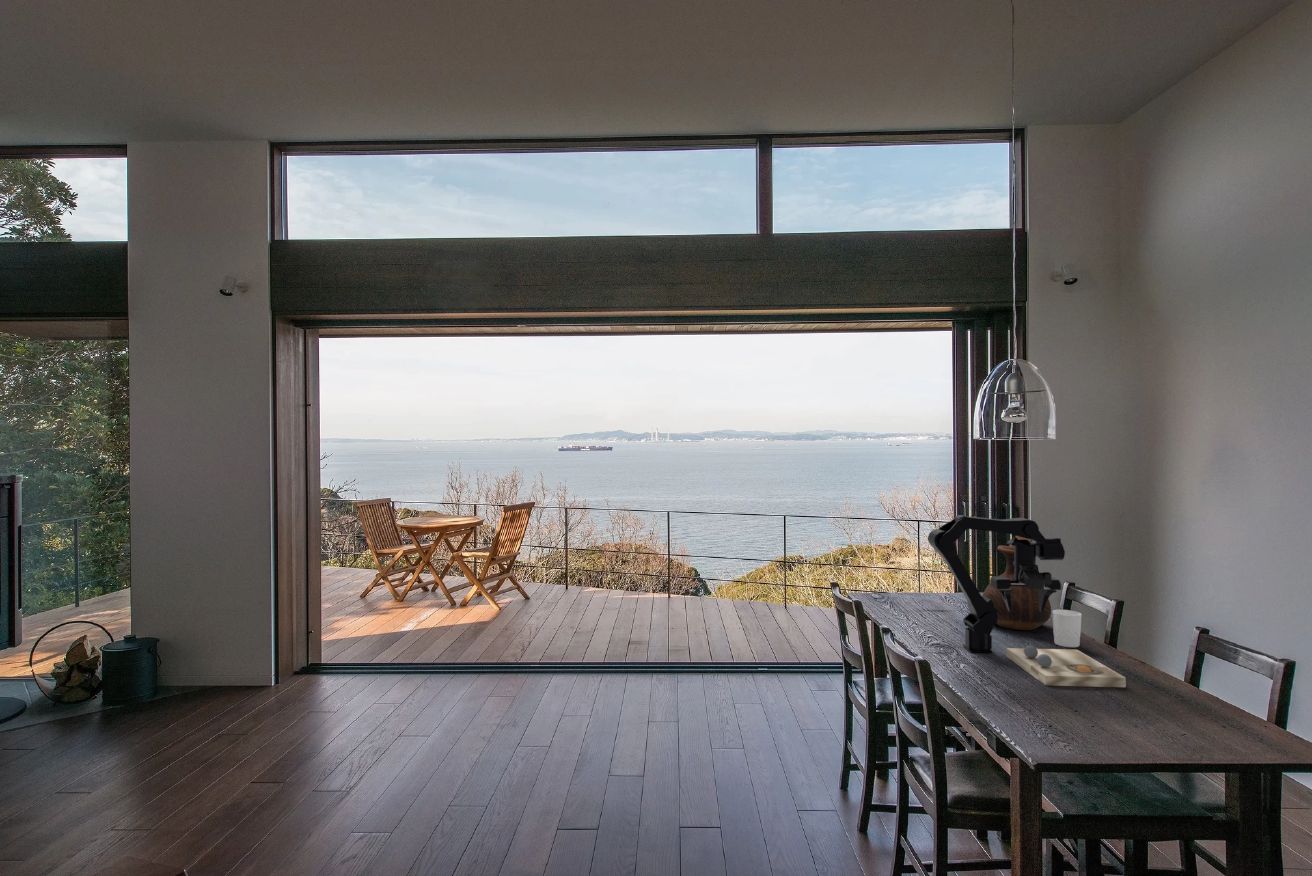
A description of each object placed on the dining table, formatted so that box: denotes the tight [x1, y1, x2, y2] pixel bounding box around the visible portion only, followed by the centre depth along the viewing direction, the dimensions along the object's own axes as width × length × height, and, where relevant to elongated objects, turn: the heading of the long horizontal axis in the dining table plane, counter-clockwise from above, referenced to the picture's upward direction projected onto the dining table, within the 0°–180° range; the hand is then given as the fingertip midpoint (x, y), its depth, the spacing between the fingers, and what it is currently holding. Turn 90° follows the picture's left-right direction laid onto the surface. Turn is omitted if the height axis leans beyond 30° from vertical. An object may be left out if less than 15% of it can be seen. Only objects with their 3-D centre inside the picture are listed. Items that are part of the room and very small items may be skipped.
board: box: [1005, 647, 1127, 688], centre depth 193 cm, size 20×24×2 cm
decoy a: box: [1024, 644, 1038, 658], centre depth 196 cm, size 4×4×4 cm
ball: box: [1077, 665, 1091, 672], centre depth 187 cm, size 4×4×4 cm
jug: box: [981, 536, 1052, 631], centre depth 240 cm, size 22×22×30 cm
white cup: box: [1051, 609, 1082, 648], centre depth 218 cm, size 8×8×10 cm
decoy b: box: [1037, 654, 1052, 668], centre depth 188 cm, size 4×4×4 cm
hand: (1025, 611), depth 211 cm, fingers open, 9 cm apart
